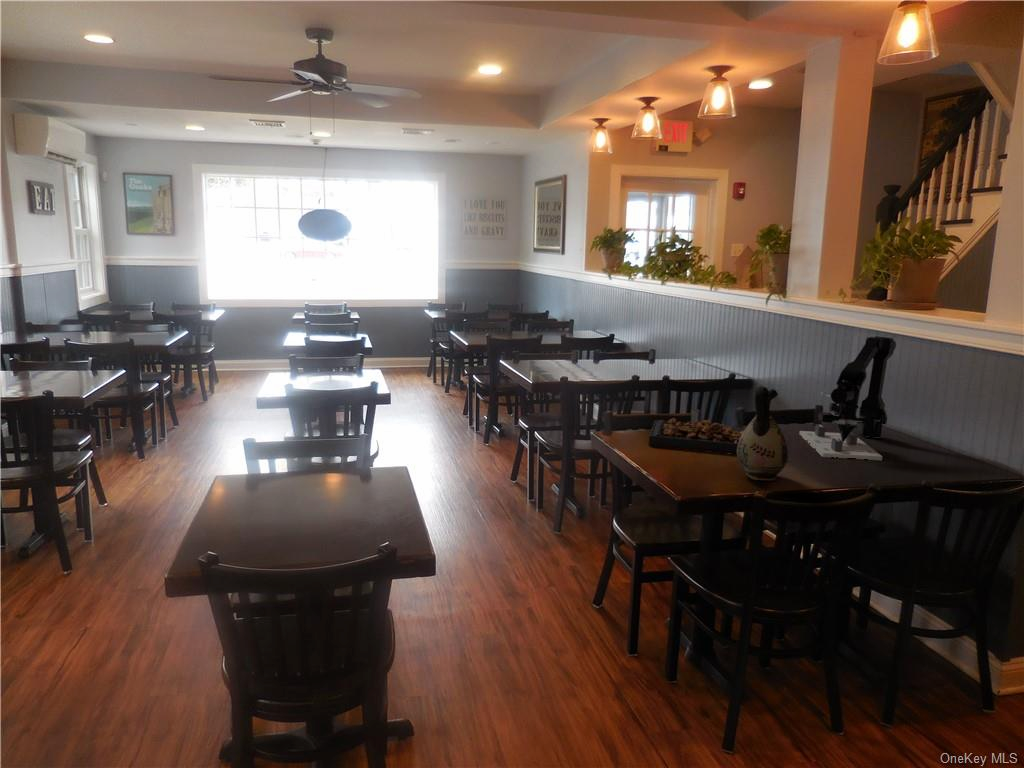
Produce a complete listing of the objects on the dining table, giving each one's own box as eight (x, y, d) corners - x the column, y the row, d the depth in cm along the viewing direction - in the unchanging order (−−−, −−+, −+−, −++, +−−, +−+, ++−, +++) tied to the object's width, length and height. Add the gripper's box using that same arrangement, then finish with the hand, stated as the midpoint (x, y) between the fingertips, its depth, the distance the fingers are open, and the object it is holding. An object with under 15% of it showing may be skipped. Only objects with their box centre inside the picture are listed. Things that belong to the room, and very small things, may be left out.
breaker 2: (838, 448, 259) (839, 438, 258) (841, 451, 255) (843, 441, 254) (830, 447, 259) (832, 438, 259) (834, 450, 255) (835, 441, 255)
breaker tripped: (852, 441, 268) (853, 432, 267) (856, 444, 264) (857, 435, 263) (845, 441, 268) (846, 432, 267) (849, 444, 264) (850, 435, 264)
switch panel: (852, 437, 280) (852, 433, 280) (881, 460, 251) (882, 456, 251) (799, 434, 283) (799, 430, 282) (822, 456, 253) (823, 452, 253)
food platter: (773, 442, 273) (776, 416, 270) (778, 461, 249) (781, 432, 247) (654, 430, 284) (655, 405, 282) (648, 447, 261) (650, 420, 259)
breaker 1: (821, 433, 279) (822, 424, 278) (824, 436, 275) (825, 427, 274) (814, 433, 279) (815, 424, 278) (817, 435, 275) (818, 426, 274)
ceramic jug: (745, 466, 240) (753, 378, 234) (791, 476, 231) (802, 385, 225) (724, 478, 227) (733, 386, 221) (773, 489, 218) (783, 393, 212)
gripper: (868, 398, 270) (861, 438, 273) (817, 393, 272) (810, 433, 275) (879, 405, 259) (871, 446, 262) (825, 400, 261) (819, 441, 264)
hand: (842, 441), depth 266 cm, fingers closed
